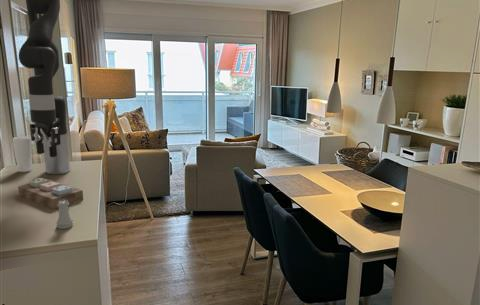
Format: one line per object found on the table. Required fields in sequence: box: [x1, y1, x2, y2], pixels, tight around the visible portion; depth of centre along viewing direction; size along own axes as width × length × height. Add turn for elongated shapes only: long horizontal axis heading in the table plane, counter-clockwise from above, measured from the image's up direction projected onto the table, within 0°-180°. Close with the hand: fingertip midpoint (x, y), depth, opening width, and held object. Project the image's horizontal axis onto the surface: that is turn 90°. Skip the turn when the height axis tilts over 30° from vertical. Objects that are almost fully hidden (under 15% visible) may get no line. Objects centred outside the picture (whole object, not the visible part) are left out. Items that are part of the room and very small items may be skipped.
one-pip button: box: [40, 181, 60, 192], centre depth 124 cm, size 4×4×2 cm
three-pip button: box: [28, 177, 48, 188], centre depth 127 cm, size 4×4×2 cm
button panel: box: [17, 178, 84, 210], centre depth 125 cm, size 21×11×4 cm, turn 59°
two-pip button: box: [52, 184, 72, 196], centre depth 121 cm, size 4×4×2 cm
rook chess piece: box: [56, 200, 74, 230], centre depth 103 cm, size 4×4×8 cm
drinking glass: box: [12, 135, 33, 173], centre depth 152 cm, size 7×7×15 cm
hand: (46, 155), depth 121 cm, fingers open, 7 cm apart
